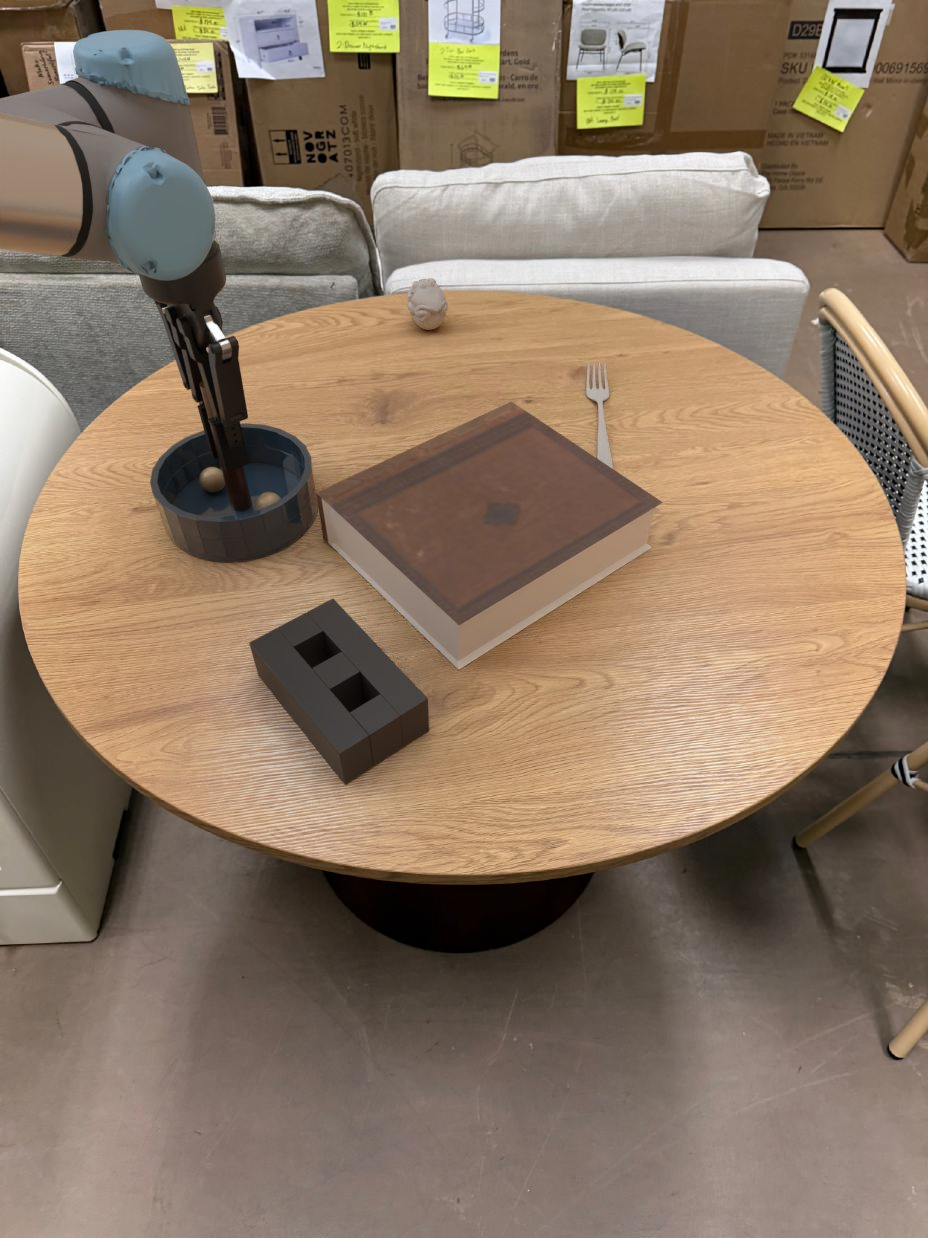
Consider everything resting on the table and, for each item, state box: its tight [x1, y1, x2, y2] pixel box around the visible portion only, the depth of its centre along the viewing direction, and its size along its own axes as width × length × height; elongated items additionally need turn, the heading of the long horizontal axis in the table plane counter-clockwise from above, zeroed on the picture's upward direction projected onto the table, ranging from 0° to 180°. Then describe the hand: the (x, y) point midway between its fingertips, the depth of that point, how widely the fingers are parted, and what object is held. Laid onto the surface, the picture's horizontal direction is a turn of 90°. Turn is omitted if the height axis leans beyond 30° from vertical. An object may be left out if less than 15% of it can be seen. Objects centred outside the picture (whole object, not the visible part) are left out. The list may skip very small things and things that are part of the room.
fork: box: [585, 361, 614, 469], centre depth 107 cm, size 3×24×2 cm, turn 177°
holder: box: [249, 598, 430, 785], centre depth 75 cm, size 9×15×5 cm, turn 39°
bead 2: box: [256, 492, 281, 511], centre depth 92 cm, size 3×3×3 cm
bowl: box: [149, 422, 319, 563], centre depth 93 cm, size 18×18×6 cm
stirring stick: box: [200, 380, 252, 511], centre depth 89 cm, size 2×2×16 cm
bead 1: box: [199, 467, 225, 493], centre depth 95 cm, size 3×3×3 cm
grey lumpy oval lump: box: [406, 277, 449, 331], centre depth 122 cm, size 6×7×7 cm
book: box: [316, 401, 664, 670], centre depth 89 cm, size 24×28×7 cm
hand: (230, 459), depth 90 cm, fingers closed on stirring stick, 2 cm apart
